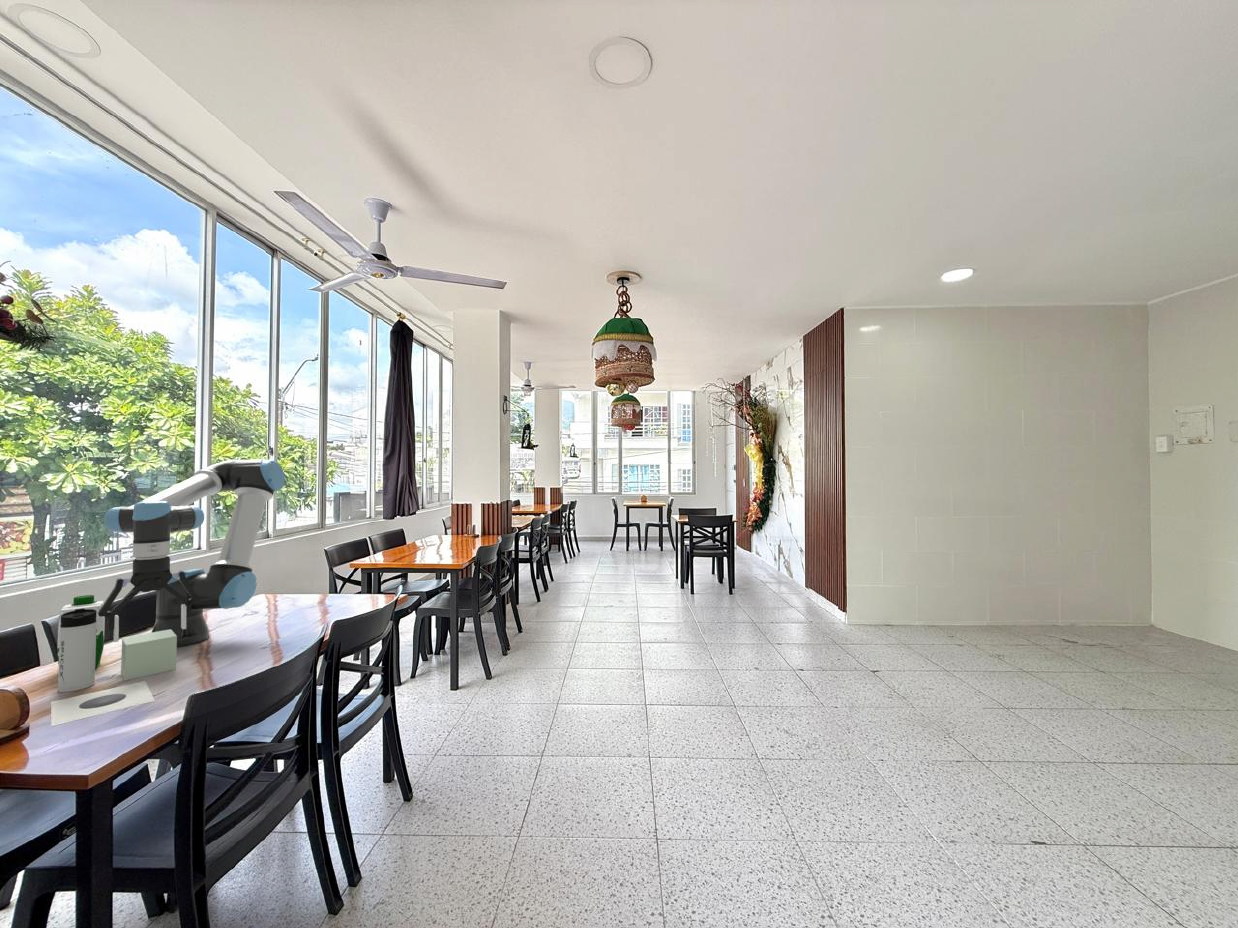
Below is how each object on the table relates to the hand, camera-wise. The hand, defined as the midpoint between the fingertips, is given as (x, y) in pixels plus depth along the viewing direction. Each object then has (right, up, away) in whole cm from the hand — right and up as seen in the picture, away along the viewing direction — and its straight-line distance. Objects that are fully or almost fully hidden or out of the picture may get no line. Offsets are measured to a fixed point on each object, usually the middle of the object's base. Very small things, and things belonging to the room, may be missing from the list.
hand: (151, 634), depth 136 cm
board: (+8, -10, -21) cm, 24 cm away
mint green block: (0, -11, -1) cm, 11 cm away
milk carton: (-22, -11, +3) cm, 25 cm away
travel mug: (-7, -10, -12) cm, 17 cm away
